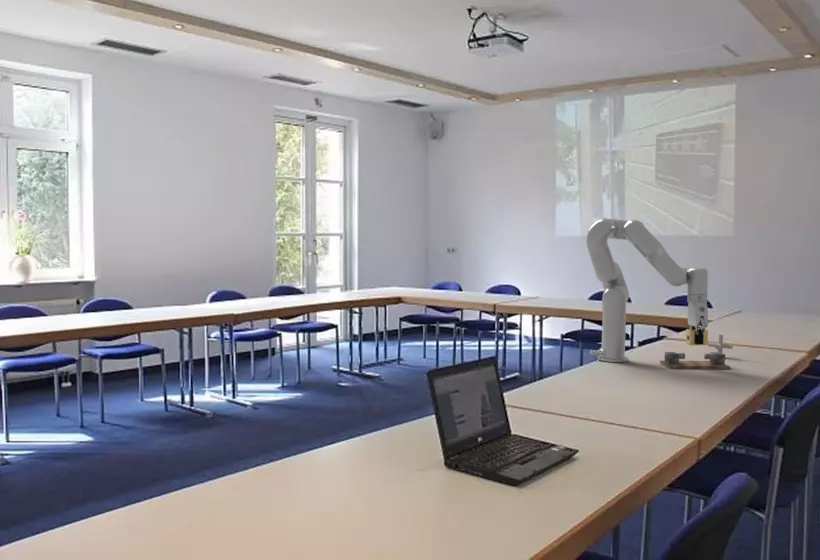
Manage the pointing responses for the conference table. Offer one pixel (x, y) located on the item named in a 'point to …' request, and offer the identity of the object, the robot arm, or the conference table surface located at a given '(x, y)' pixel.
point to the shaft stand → (715, 361)
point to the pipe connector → (720, 344)
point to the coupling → (691, 337)
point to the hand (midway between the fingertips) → (696, 342)
